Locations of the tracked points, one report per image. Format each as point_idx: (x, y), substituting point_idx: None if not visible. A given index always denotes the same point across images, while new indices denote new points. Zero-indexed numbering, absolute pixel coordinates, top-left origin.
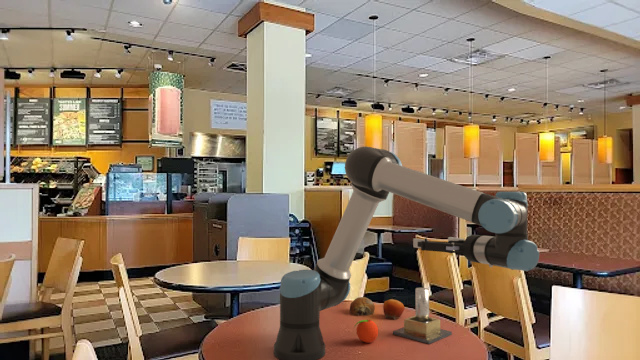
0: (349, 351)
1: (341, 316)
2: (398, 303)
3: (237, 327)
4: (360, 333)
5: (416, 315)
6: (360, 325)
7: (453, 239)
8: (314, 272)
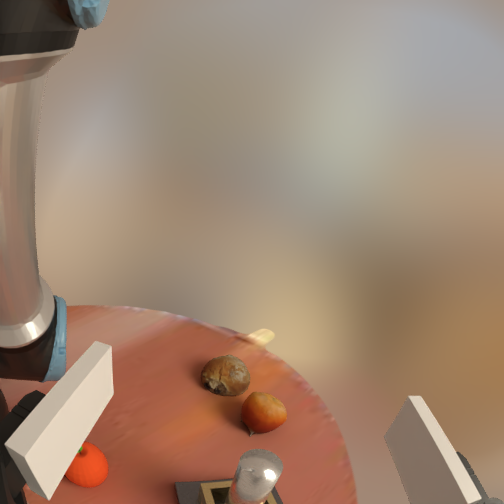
0: None
1: (175, 376)
2: (268, 413)
3: None
4: None
5: (226, 497)
6: None
7: (422, 441)
8: None
